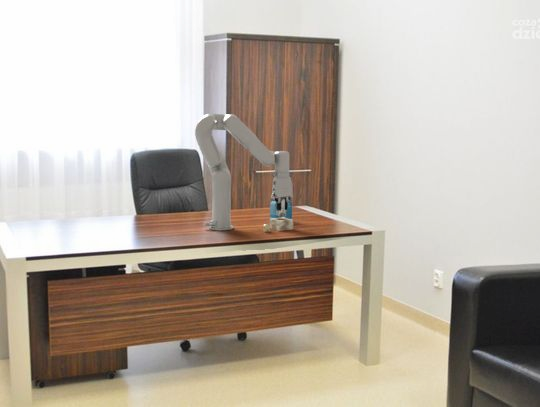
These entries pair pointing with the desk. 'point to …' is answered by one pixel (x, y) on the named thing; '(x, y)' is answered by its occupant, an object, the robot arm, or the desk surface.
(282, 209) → the tall pin
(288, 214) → the data package
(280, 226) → the pin block
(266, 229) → the short pin
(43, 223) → the desk surface
